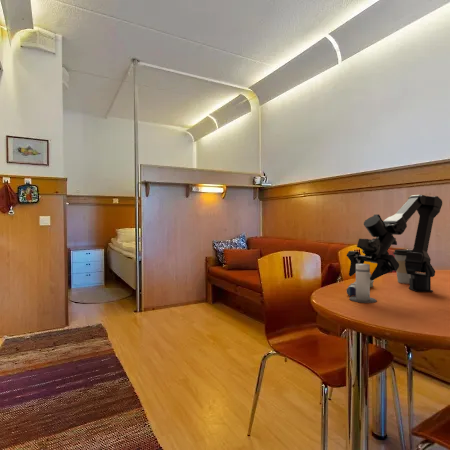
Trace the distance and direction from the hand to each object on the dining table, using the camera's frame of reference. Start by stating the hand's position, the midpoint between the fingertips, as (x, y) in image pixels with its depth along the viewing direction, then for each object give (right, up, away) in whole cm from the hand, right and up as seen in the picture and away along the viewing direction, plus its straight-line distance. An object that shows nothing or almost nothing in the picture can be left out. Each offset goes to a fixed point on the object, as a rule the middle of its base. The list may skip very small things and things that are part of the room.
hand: (359, 277), depth 111 cm
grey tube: (+8, -9, +17) cm, 20 cm away
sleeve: (+1, -8, +1) cm, 8 cm away
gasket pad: (+1, -8, +1) cm, 8 cm away
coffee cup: (+35, -8, +32) cm, 48 cm away
